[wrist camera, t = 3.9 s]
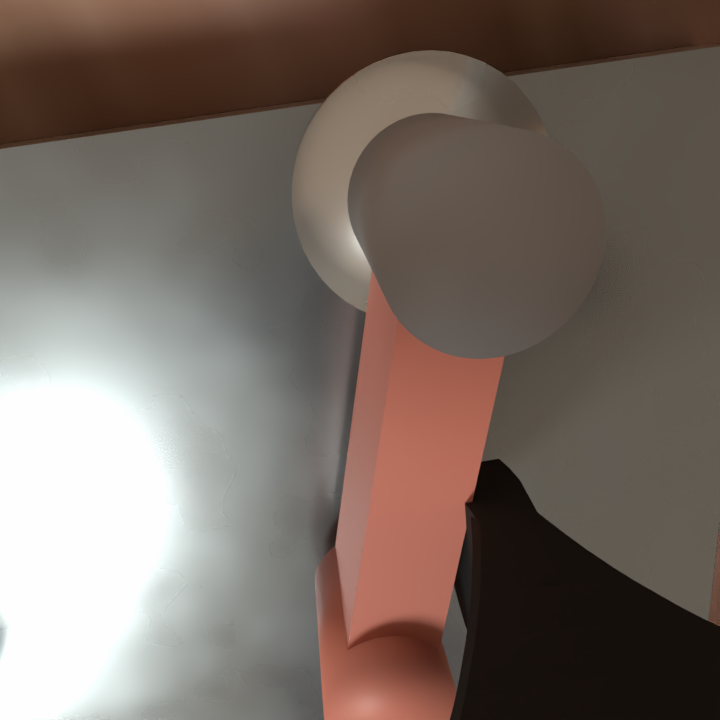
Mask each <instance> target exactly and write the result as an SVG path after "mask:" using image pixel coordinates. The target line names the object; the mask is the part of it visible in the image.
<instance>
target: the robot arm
mask: <svg viewBox="0 0 720 720" xmlns="http://www.w3.org/2000/svg"><path fill="white" fill-rule="evenodd" d="M465 514H466V532H465V537H464V541H463V546H462V550H461V555H460V559H459V564H458V568H457V573H456V577H455V582H454V588H455V591H456V595H457V599H458V602H459V606H460V609H461V613H462V616H463V620H464V623H465V626H466V629H467V635H466V642H465V648H464V654H463V660H462V666H461V671H460V677H459V682H458V687H457V692H456V696H455V701H454V705H453V709H452V713H451V717H450V720H720V627H719V626H717V625H715V624H713V623H711V622H709V621H707V620H705V619H703V618H701V617H699V616H697V615H695V614H693V613H691V612H690V611H688V610H686V609H684V608H682V607H680V606H678V605H676V604H675V603H673V602H671V601H669V600H668V599H666V598H664V597H662V596H661V595H659V594H657V593H655V592H654V591H652V590H650V589H648V588H647V587H645V586H643V585H641V584H640V583H638V582H636V581H634V580H633V579H631V578H630V577H628V576H626V575H625V574H623V573H621V572H620V571H618V570H617V569H615V568H614V567H612V566H611V565H609V564H608V563H606V562H605V561H603V560H602V559H600V558H599V557H597V556H596V555H594V554H593V553H591V552H590V551H588V550H587V549H585V548H584V547H583V546H581V545H580V544H579V543H577V542H576V541H574V540H573V539H572V538H570V537H569V536H568V535H566V534H565V533H564V532H562V531H561V530H560V529H559V528H557V527H556V526H555V525H553V524H552V523H551V522H549V521H548V520H547V519H546V518H544V517H543V516H542V515H540V514H539V513H538V512H537V511H536V509H535V507H534V505H533V503H532V501H531V499H530V498H529V496H528V494H527V492H526V490H525V488H524V487H523V485H522V483H521V481H520V480H519V478H518V477H517V476H516V475H515V474H514V473H513V472H512V470H511V469H510V468H509V467H508V466H507V465H505V464H504V463H503V462H502V461H501V460H500V459H494V460H488V461H481V465H480V469H479V474H478V478H477V483H476V487H475V492H474V496H473V501H472V502H467V503H465Z"/></svg>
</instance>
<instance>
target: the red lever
mask: <svg viewBox="0 0 720 720" xmlns="http://www.w3.org/2000/svg"><path fill="white" fill-rule="evenodd" d="M347 204H348V214H349V219H350V223H351V226H352V229H353V232H354V234H355V236H356V238H357V241H358V243H359V245H360V247H361V249H362V251H363V253H364V255H365V257H366V259H367V261H368V263H369V265H370V267H371V269H372V272H371V280H370V287H369V295H368V302H367V310H366V318H365V325H364V333H363V340H362V348H361V355H360V363H359V370H358V378H357V385H356V393H355V400H354V408H353V415H352V423H351V430H350V438H349V445H348V453H347V460H346V468H345V475H344V483H343V491H342V498H341V506H340V513H339V521H338V528H337V536H336V543H335V546H334V547H333V548H332V549H330V550H329V551H328V552H327V553H326V554H325V556H324V557H323V558H322V560H321V561H320V563H319V565H318V567H317V570H316V574H315V595H316V609H317V624H318V639H319V653H320V668H321V683H322V697H323V712H324V720H450V717H451V713H452V709H453V705H454V701H455V696H456V688H455V684H454V681H453V677H452V674H451V670H450V667H449V663H448V660H447V657H446V653H445V650H444V646H443V643H442V636H443V631H444V627H445V622H446V618H447V613H448V609H449V604H450V600H451V595H452V591H453V586H454V582H455V577H456V573H457V568H458V564H459V559H460V555H461V550H462V546H463V541H464V537H465V532H466V514H465V503H467V502H472V501H473V496H474V492H475V487H476V483H477V478H478V474H479V469H480V465H481V460H482V456H483V451H484V447H485V442H486V438H487V433H488V429H489V424H490V420H491V415H492V411H493V406H494V402H495V397H496V393H497V388H498V384H499V379H500V375H501V370H502V366H503V361H504V357H505V356H506V355H511V354H514V353H517V352H520V351H522V350H525V349H527V348H529V347H531V346H533V345H535V344H537V343H539V342H541V341H543V340H544V339H546V338H547V337H549V336H550V335H552V334H553V333H554V332H555V331H557V330H558V329H559V328H560V327H562V326H563V325H564V324H565V323H566V322H567V321H568V320H569V319H570V318H571V317H572V316H573V315H574V313H575V312H576V311H577V309H578V308H579V307H580V306H581V304H582V303H583V301H584V300H585V298H586V297H587V295H588V293H589V292H590V290H591V288H592V286H593V284H594V282H595V279H596V277H597V275H598V272H599V269H600V266H601V263H602V258H603V253H604V248H605V237H606V226H605V214H604V209H603V204H602V200H601V197H600V194H599V191H598V189H597V187H596V185H595V183H594V181H593V179H592V177H591V175H590V174H589V172H588V171H587V169H586V168H585V166H584V165H583V164H582V163H581V162H580V160H579V159H578V158H577V157H576V156H575V155H574V154H573V153H572V152H570V151H569V150H568V149H567V148H565V147H564V146H563V145H561V144H560V143H558V142H556V141H554V140H553V139H551V138H549V137H547V136H544V135H542V134H539V133H536V132H533V131H529V130H524V129H519V128H514V127H509V126H504V125H499V124H494V123H489V122H484V121H479V120H474V119H469V118H463V117H458V116H453V115H448V114H443V113H422V114H417V115H412V116H408V117H406V118H403V119H400V120H398V121H396V122H394V123H393V124H391V125H389V126H387V127H386V128H385V129H383V130H382V131H381V132H379V133H378V134H377V135H376V136H375V137H374V138H373V139H372V140H371V141H370V142H369V144H368V145H367V146H366V147H365V148H364V150H363V151H362V153H361V155H360V156H359V158H358V160H357V162H356V164H355V166H354V168H353V171H352V175H351V178H350V182H349V187H348V198H347Z"/></svg>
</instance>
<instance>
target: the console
mask: <svg viewBox="0 0 720 720" xmlns="http://www.w3.org/2000/svg"><path fill="white" fill-rule="evenodd" d="M422 113H443V114H448V115H453V116H458V117H463V118H469V119H474V120H479V121H484V122H489V123H494V124H499V125H504V126H509V127H514V128H519V129H524V130H529V131H533V132H536V133H539V134H542V135H544V136H547V137H549V138H551V139H553V140H554V141H556V142H558V143H560V144H561V145H563V146H564V147H565V148H567V149H568V150H569V151H570V152H572V153H573V154H574V155H575V156H576V157H577V158H578V159H579V160H580V162H581V163H582V164H583V165H584V166H585V168H586V169H587V171H588V172H589V174H590V175H591V177H592V179H593V181H594V183H595V185H596V187H597V189H598V191H599V194H600V197H601V200H602V204H603V209H604V214H605V226H606V237H605V248H604V253H603V258H602V263H601V266H600V269H599V272H598V275H597V277H596V279H595V282H594V284H593V286H592V288H591V290H590V292H589V293H588V295H587V297H586V298H585V300H584V301H583V303H582V304H581V306H580V307H579V308H578V309H577V311H576V312H575V313H574V315H573V316H572V317H571V318H570V319H569V320H568V321H567V322H566V323H565V324H564V325H563V326H562V327H560V328H559V329H558V330H557V331H555V332H554V333H553V334H552V335H550V336H549V337H547V338H546V339H544V340H543V341H541V342H539V343H537V344H535V345H533V346H531V347H529V348H527V349H525V350H522V351H520V352H517V353H514V354H511V355H506V356H505V357H504V361H503V366H502V370H501V375H500V379H499V384H498V388H497V393H496V397H495V402H494V406H493V411H492V415H491V420H490V424H489V429H488V433H487V438H486V442H485V447H484V451H483V456H482V460H481V461H488V460H494V459H500V460H501V461H502V462H503V463H504V464H505V465H507V466H508V467H509V468H510V469H511V470H512V472H513V473H514V474H515V475H516V476H517V477H518V478H519V480H520V481H521V483H522V485H523V487H524V488H525V490H526V492H527V494H528V496H529V498H530V499H531V501H532V503H533V505H534V507H535V509H536V511H537V512H538V513H539V514H540V515H542V516H543V517H544V518H546V519H547V520H548V521H549V522H551V523H552V524H553V525H555V526H556V527H557V528H559V529H560V530H561V531H562V532H564V533H565V534H566V535H568V536H569V537H570V538H572V539H573V540H574V541H576V542H577V543H579V544H580V545H581V546H583V547H584V548H585V549H587V550H588V551H590V552H591V553H593V554H594V555H596V556H597V557H599V558H600V559H602V560H603V561H605V562H606V563H608V564H609V565H611V566H612V567H614V568H615V569H617V570H618V571H620V572H621V573H623V574H625V575H626V576H628V577H630V578H631V579H633V580H634V581H636V582H638V583H640V584H641V585H643V586H645V587H647V588H648V589H650V590H652V591H654V592H655V593H657V594H659V595H661V596H662V597H664V598H666V599H668V600H669V601H671V602H673V603H675V604H676V605H678V606H680V607H682V608H684V609H686V610H688V611H690V612H691V613H693V614H695V615H697V616H699V617H701V618H703V619H705V620H707V621H709V612H710V603H711V594H712V586H713V577H714V568H715V559H716V550H717V541H718V532H719V523H720V43H716V44H705V45H694V46H687V47H680V48H673V49H666V50H659V51H652V52H645V53H638V54H631V55H624V56H617V57H610V58H603V59H596V60H589V61H582V62H575V63H568V64H561V65H554V66H547V67H540V68H533V69H526V70H519V71H512V72H505V73H501V72H500V71H498V70H497V69H495V68H493V67H492V66H490V65H488V64H486V63H485V62H482V61H480V60H477V59H475V58H472V57H470V56H466V55H462V54H458V53H454V52H448V51H435V50H427V51H413V52H408V53H403V54H399V55H394V56H390V57H388V58H385V59H382V60H380V61H377V62H374V63H372V64H370V65H368V66H367V67H365V68H363V69H361V70H359V71H357V72H356V73H355V74H353V75H352V76H350V77H349V78H348V79H346V80H345V81H344V82H342V83H341V84H340V85H339V86H338V87H337V88H336V89H335V90H334V91H333V92H332V93H331V94H330V95H329V96H328V97H327V98H323V99H316V100H308V101H301V102H294V103H287V104H280V105H273V106H266V107H259V108H252V109H245V110H238V111H231V112H224V113H217V114H210V115H203V116H196V117H189V118H182V119H175V120H168V121H161V122H154V123H147V124H140V125H133V126H126V127H119V128H112V129H105V130H98V131H91V132H84V133H77V134H70V135H63V136H56V137H49V138H42V139H35V140H28V141H21V142H14V143H7V144H0V720H324V712H323V697H322V683H321V668H320V653H319V639H318V624H317V609H316V595H315V574H316V570H317V567H318V565H319V563H320V561H321V560H322V558H323V557H324V556H325V554H326V553H327V552H328V551H329V550H330V549H332V548H333V547H334V546H335V543H336V536H337V528H338V521H339V513H340V506H341V498H342V491H343V483H344V475H345V468H346V460H347V453H348V445H349V438H350V430H351V423H352V415H353V408H354V400H355V393H356V385H357V378H358V370H359V363H360V355H361V348H362V340H363V333H364V325H365V318H366V310H367V302H368V295H369V287H370V280H371V272H372V269H371V267H370V265H369V263H368V261H367V259H366V257H365V255H364V253H363V251H362V249H361V247H360V245H359V243H358V241H357V238H356V236H355V234H354V232H353V229H352V226H351V223H350V219H349V214H348V204H347V198H348V187H349V182H350V178H351V175H352V171H353V168H354V166H355V164H356V162H357V160H358V158H359V156H360V155H361V153H362V151H363V150H364V148H365V147H366V146H367V145H368V144H369V142H370V141H371V140H372V139H373V138H374V137H375V136H376V135H377V134H378V133H379V132H381V131H382V130H383V129H385V128H386V127H387V126H389V125H391V124H393V123H394V122H396V121H398V120H400V119H403V118H406V117H408V116H412V115H417V114H422ZM466 635H467V629H466V626H465V623H464V620H463V616H462V613H461V609H460V606H459V602H458V599H457V595H456V591H455V588H454V586H453V591H452V595H451V600H450V604H449V609H448V613H447V618H446V622H445V627H444V631H443V636H442V643H443V646H444V650H445V653H446V657H447V660H448V663H449V667H450V670H451V674H452V677H453V681H454V684H455V688H456V692H457V687H458V682H459V677H460V671H461V666H462V660H463V654H464V648H465V642H466Z"/></svg>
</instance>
